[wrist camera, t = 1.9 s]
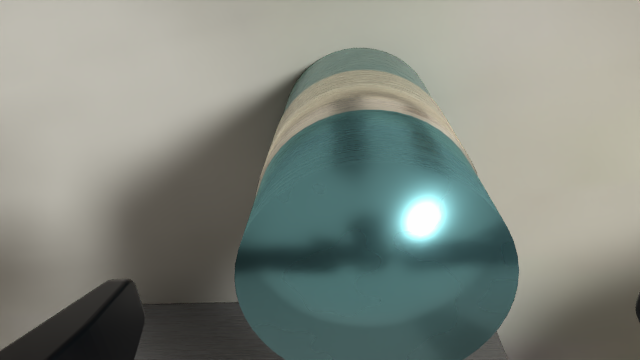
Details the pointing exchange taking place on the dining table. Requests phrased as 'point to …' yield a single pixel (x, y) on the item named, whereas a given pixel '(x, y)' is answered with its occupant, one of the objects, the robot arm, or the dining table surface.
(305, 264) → the metal can
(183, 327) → the grey hollow block
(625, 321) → the dining table surface
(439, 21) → the dining table surface
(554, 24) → the dining table surface
